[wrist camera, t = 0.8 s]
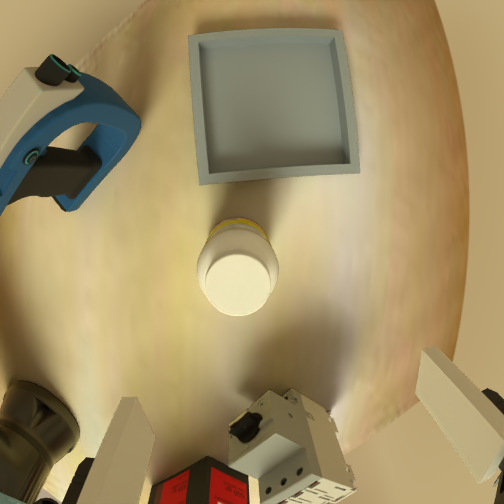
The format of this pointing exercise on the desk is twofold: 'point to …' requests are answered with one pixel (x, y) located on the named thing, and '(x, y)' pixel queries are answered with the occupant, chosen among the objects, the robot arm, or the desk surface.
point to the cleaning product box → (203, 485)
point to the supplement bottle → (237, 267)
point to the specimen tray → (272, 104)
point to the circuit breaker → (290, 451)
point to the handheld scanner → (52, 125)
